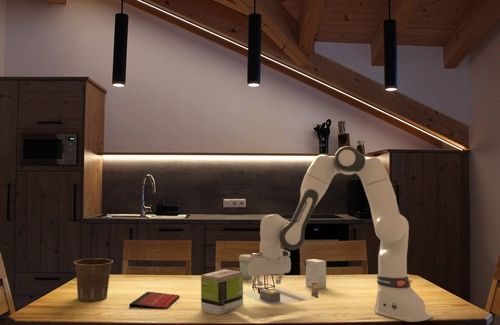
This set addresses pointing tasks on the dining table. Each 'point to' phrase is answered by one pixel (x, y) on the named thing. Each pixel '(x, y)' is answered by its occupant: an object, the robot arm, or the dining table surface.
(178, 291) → the dining table surface
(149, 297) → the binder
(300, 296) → the floor panel
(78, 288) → the plant pot
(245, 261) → the coffee cup
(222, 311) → the tea box
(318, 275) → the small box
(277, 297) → the grey rectangular block
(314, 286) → the peg
